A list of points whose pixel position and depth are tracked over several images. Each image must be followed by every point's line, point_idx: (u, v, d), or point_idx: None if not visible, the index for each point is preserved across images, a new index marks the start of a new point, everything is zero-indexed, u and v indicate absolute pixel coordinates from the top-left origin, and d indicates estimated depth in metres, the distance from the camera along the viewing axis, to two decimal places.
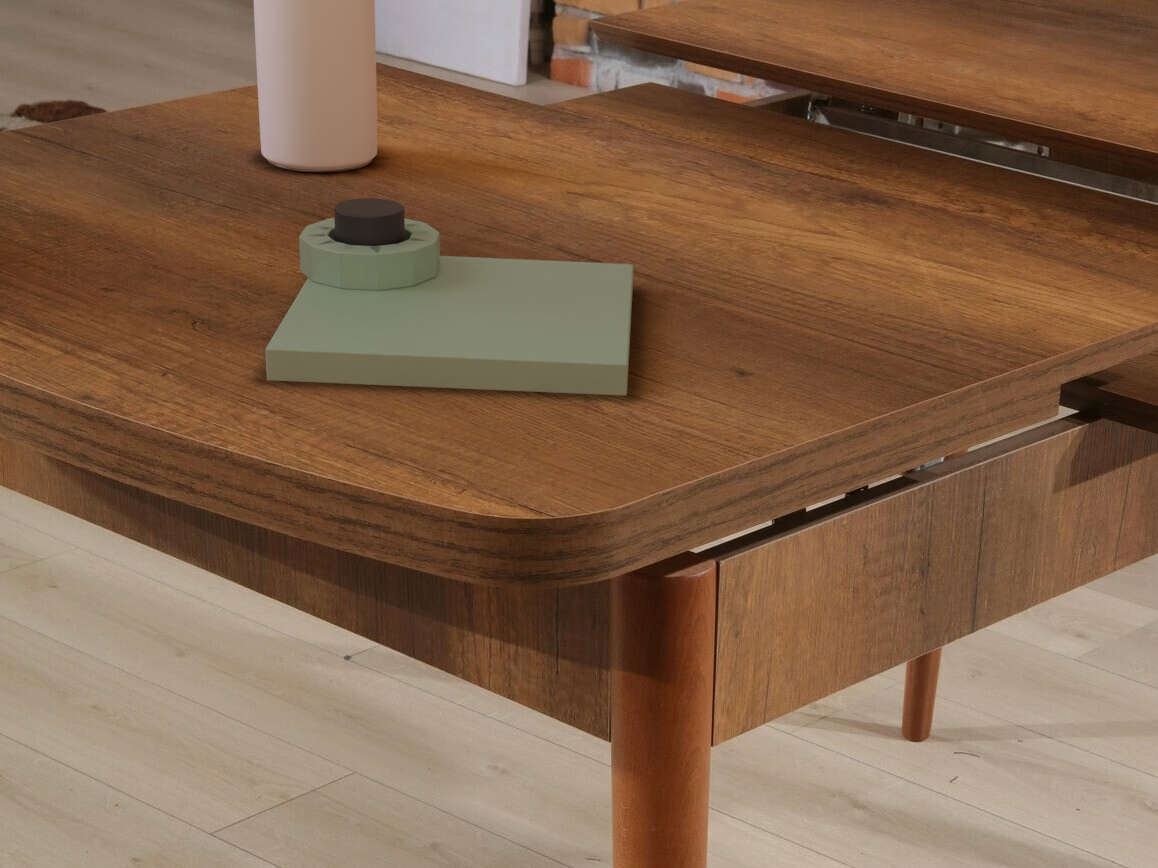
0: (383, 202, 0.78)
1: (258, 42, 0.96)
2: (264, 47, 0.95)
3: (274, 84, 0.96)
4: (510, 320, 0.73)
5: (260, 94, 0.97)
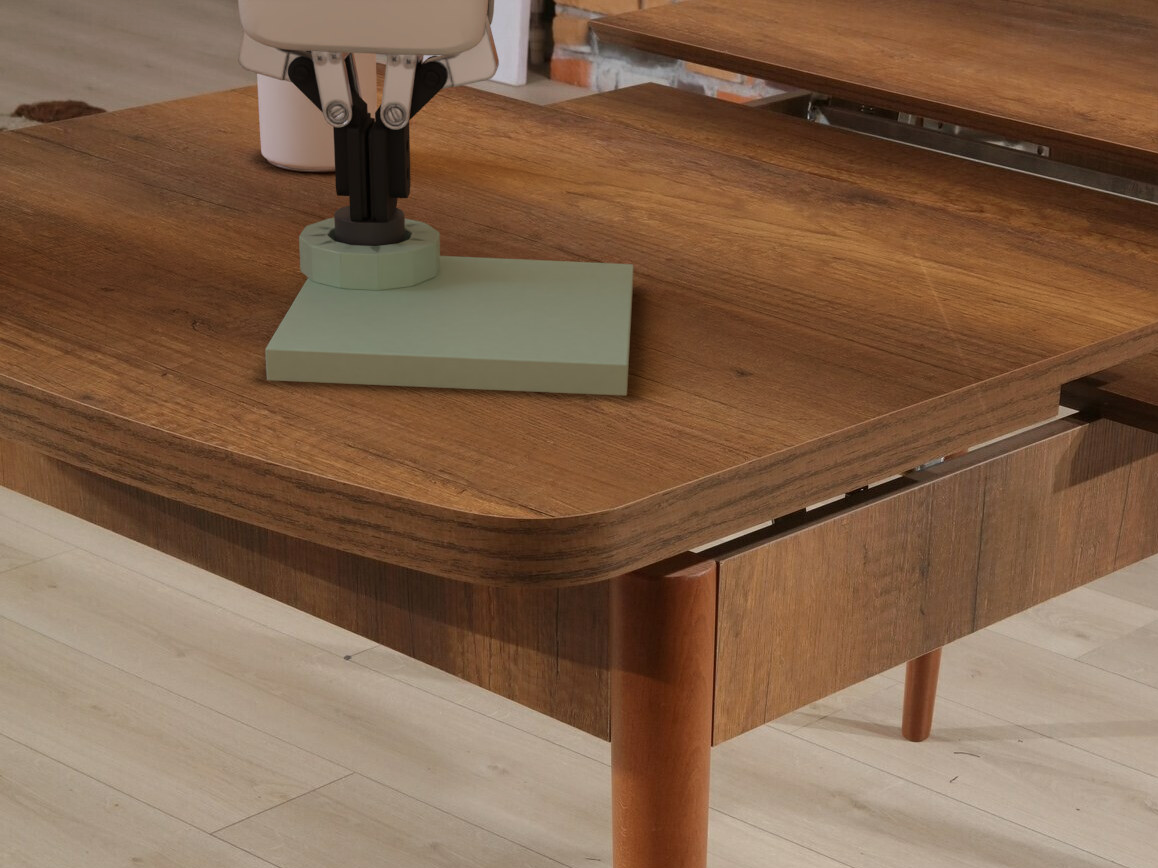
0: None
1: None
2: None
3: (274, 84, 0.96)
4: (510, 320, 0.73)
5: (260, 94, 0.97)
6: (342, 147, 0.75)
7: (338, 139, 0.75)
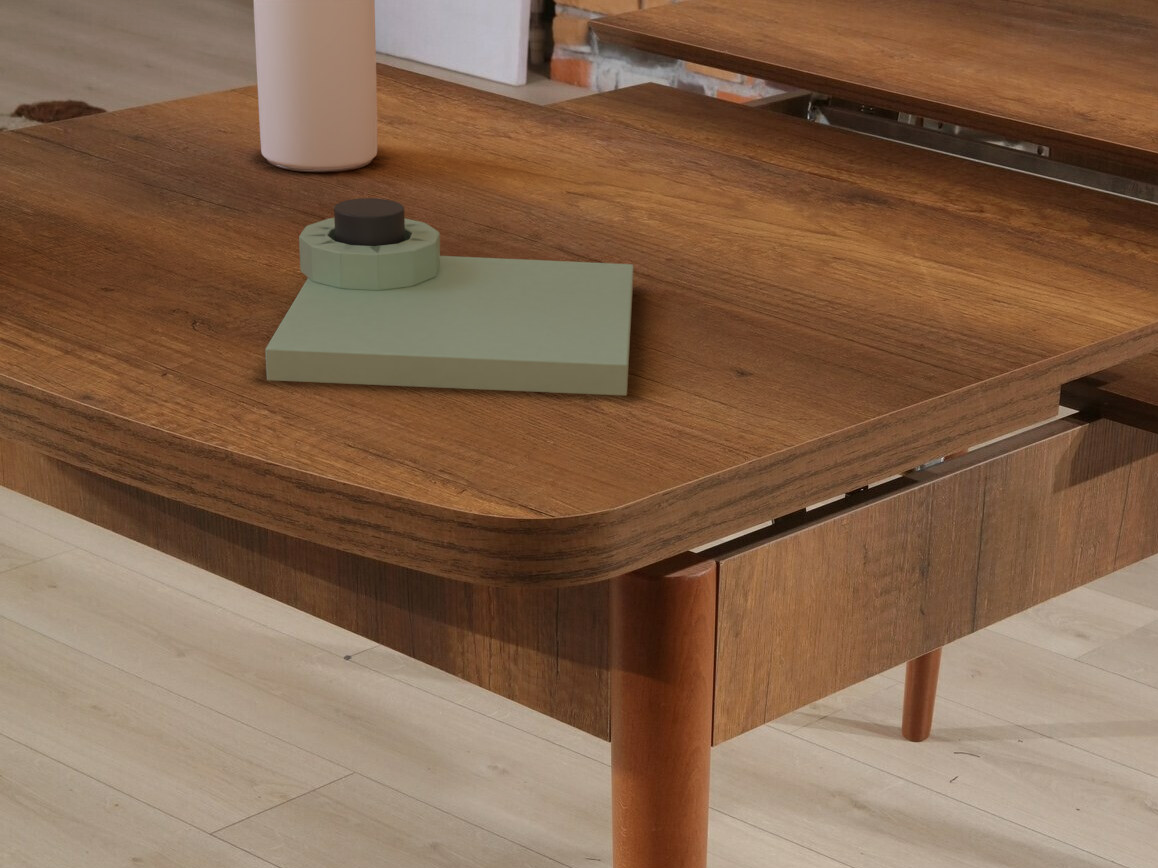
0: (383, 202, 0.78)
1: (258, 42, 0.96)
2: (264, 47, 0.95)
3: (274, 84, 0.96)
4: (510, 320, 0.73)
5: (260, 94, 0.97)
6: None
7: None
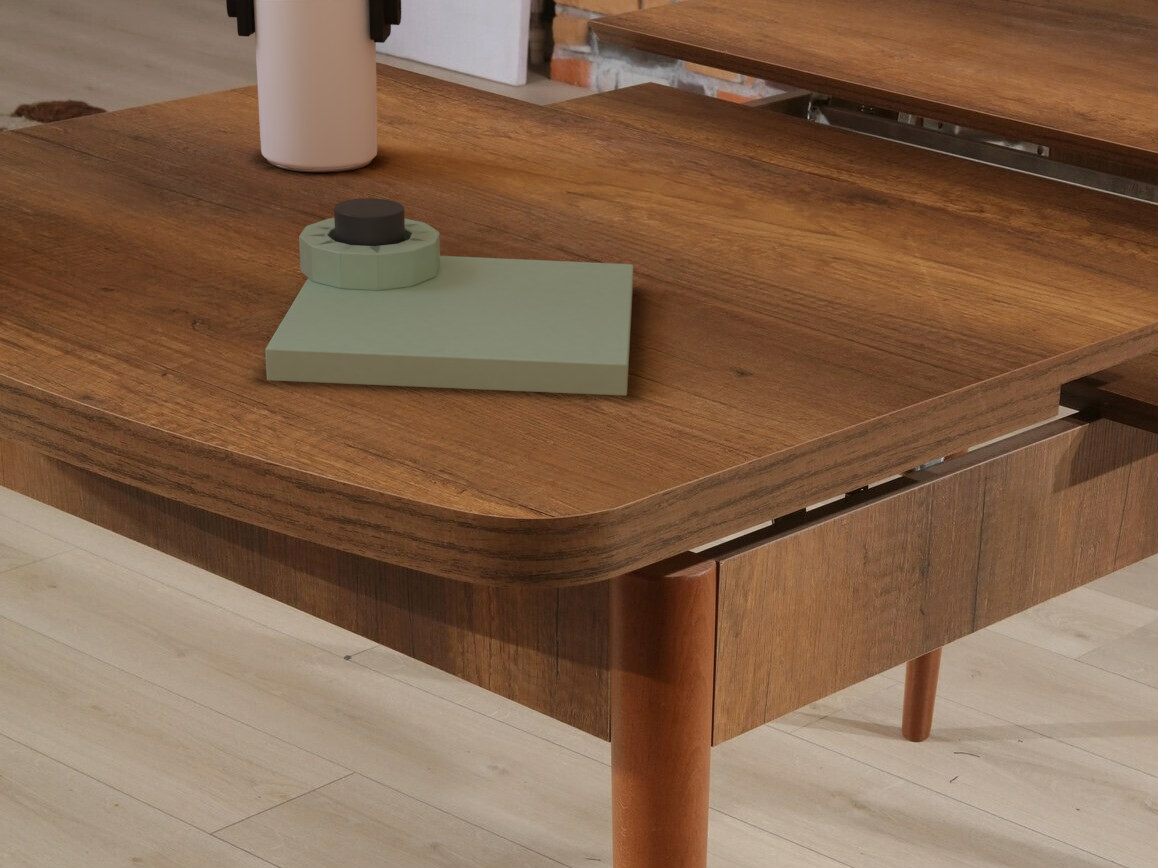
0: (383, 202, 0.78)
1: (258, 42, 0.96)
2: (264, 47, 0.95)
3: (274, 84, 0.96)
4: (510, 320, 0.73)
5: (260, 94, 0.97)
6: None
7: None
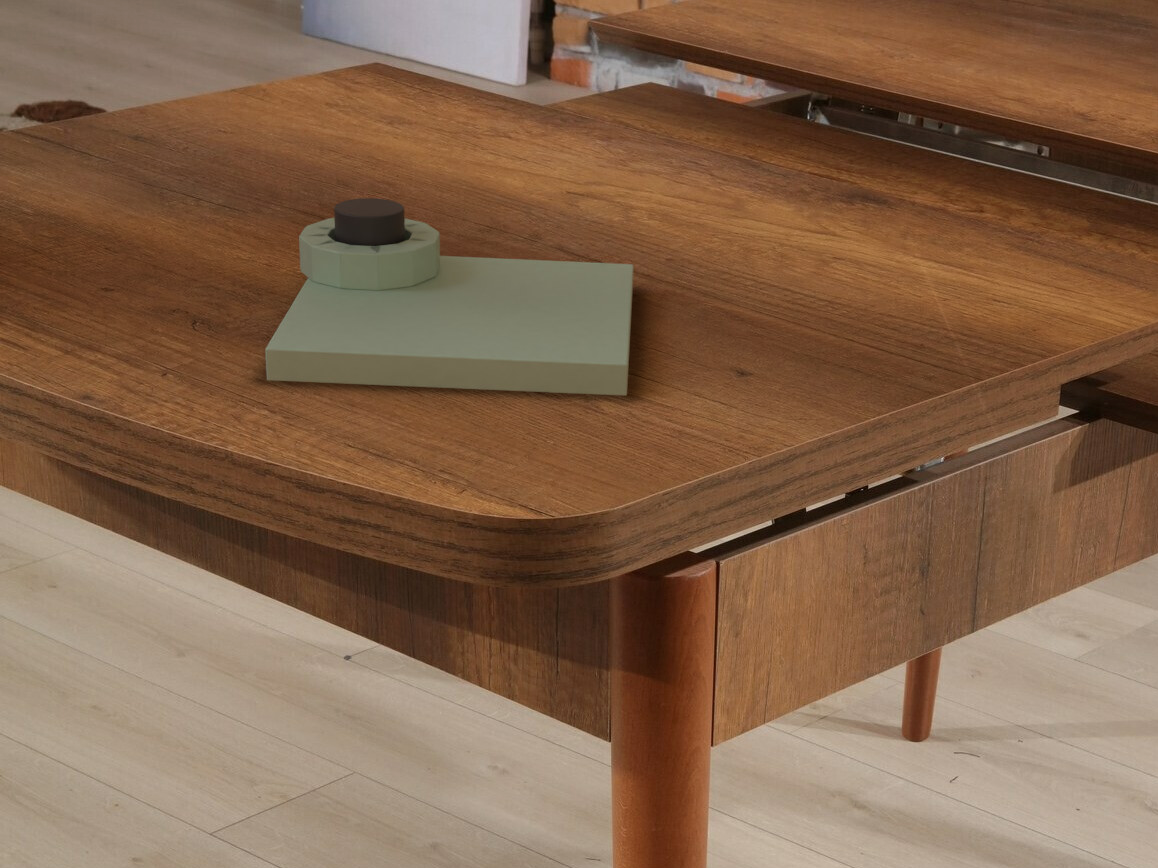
0: (383, 202, 0.78)
1: None
2: None
3: None
4: (510, 320, 0.73)
5: None
6: None
7: None
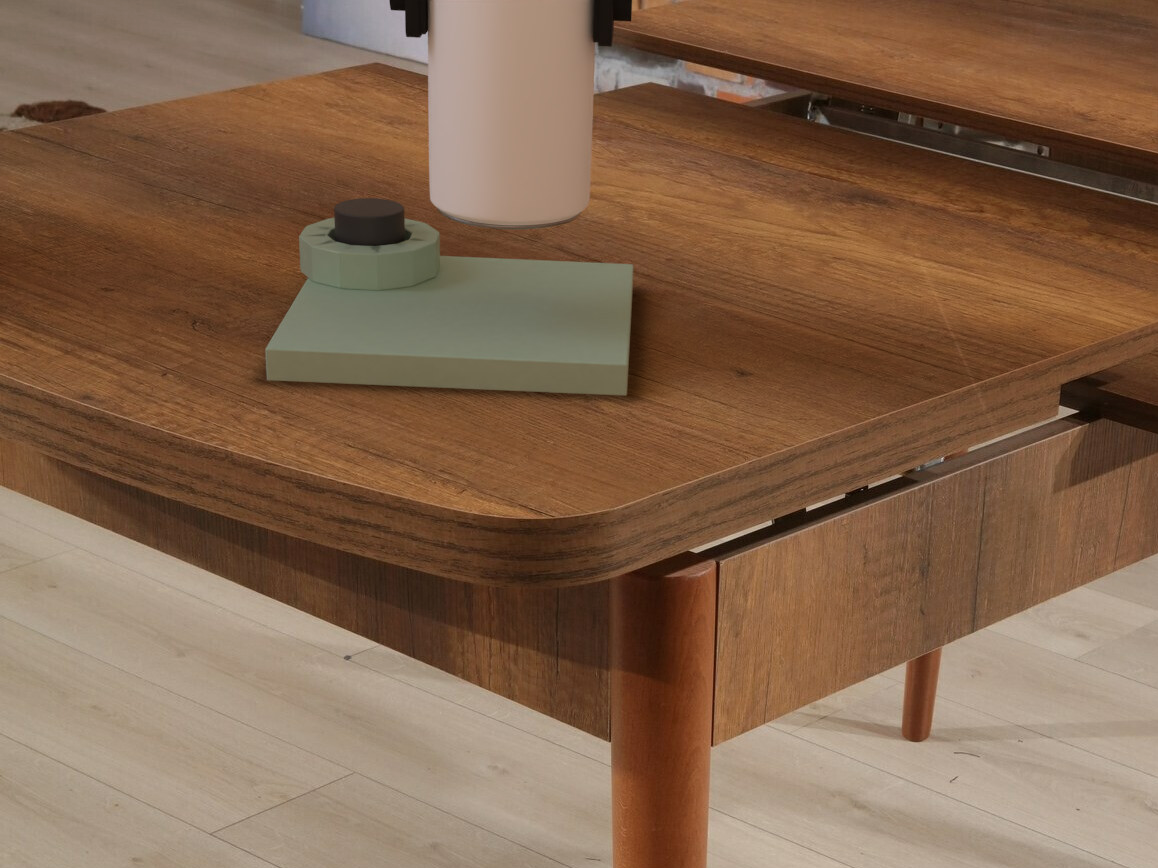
0: (383, 202, 0.78)
1: (434, 45, 0.67)
2: (444, 53, 0.67)
3: (458, 105, 0.67)
4: (510, 320, 0.73)
5: (434, 119, 0.69)
6: None
7: None
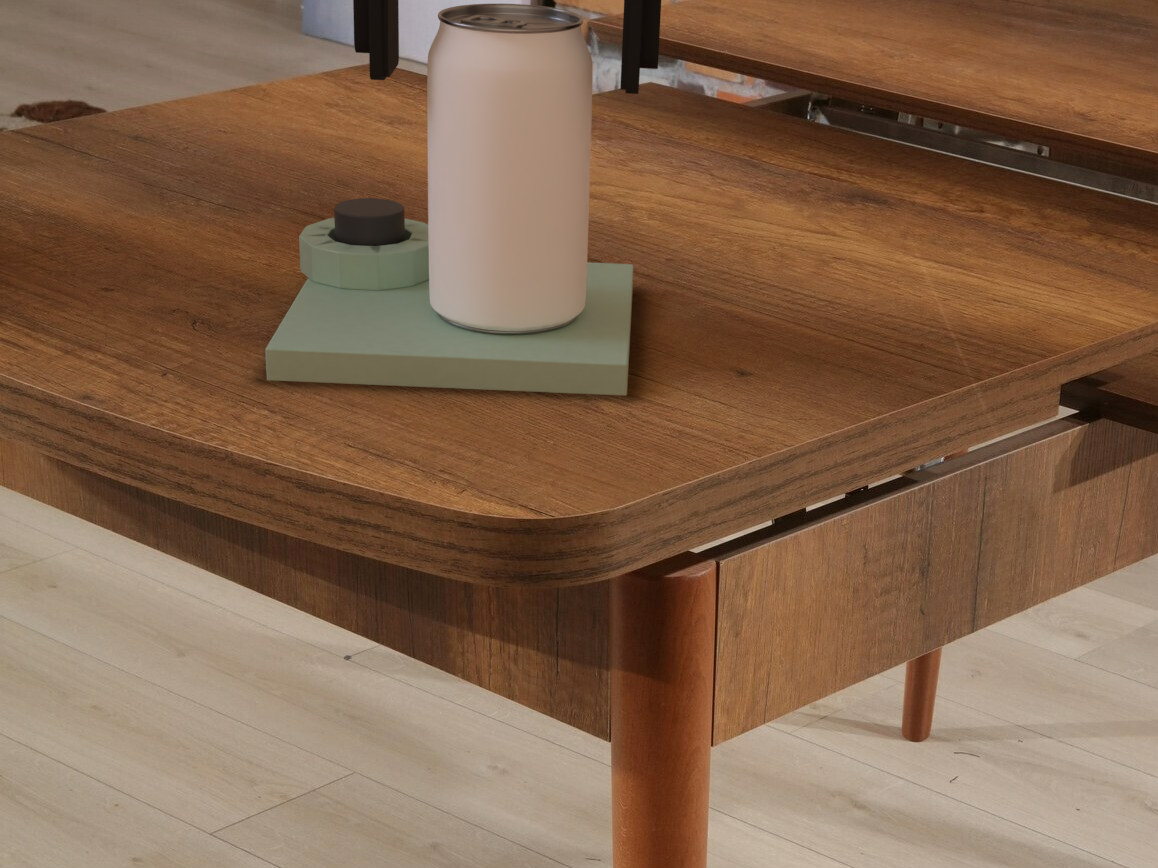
0: (383, 202, 0.78)
1: (434, 158, 0.69)
2: (443, 166, 0.69)
3: (457, 216, 0.69)
4: None
5: (434, 228, 0.71)
6: None
7: None
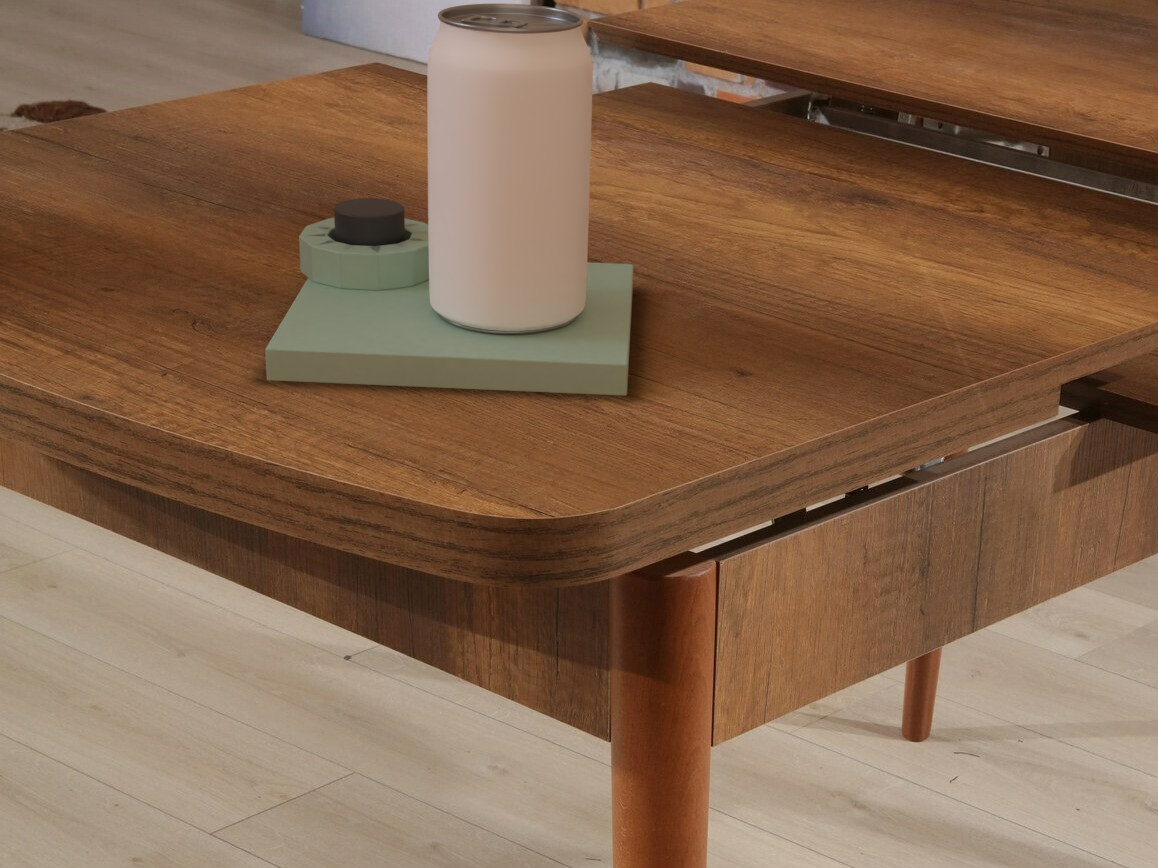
0: (383, 202, 0.78)
1: (434, 158, 0.69)
2: (443, 166, 0.69)
3: (457, 216, 0.69)
4: None
5: (434, 228, 0.71)
6: None
7: None
